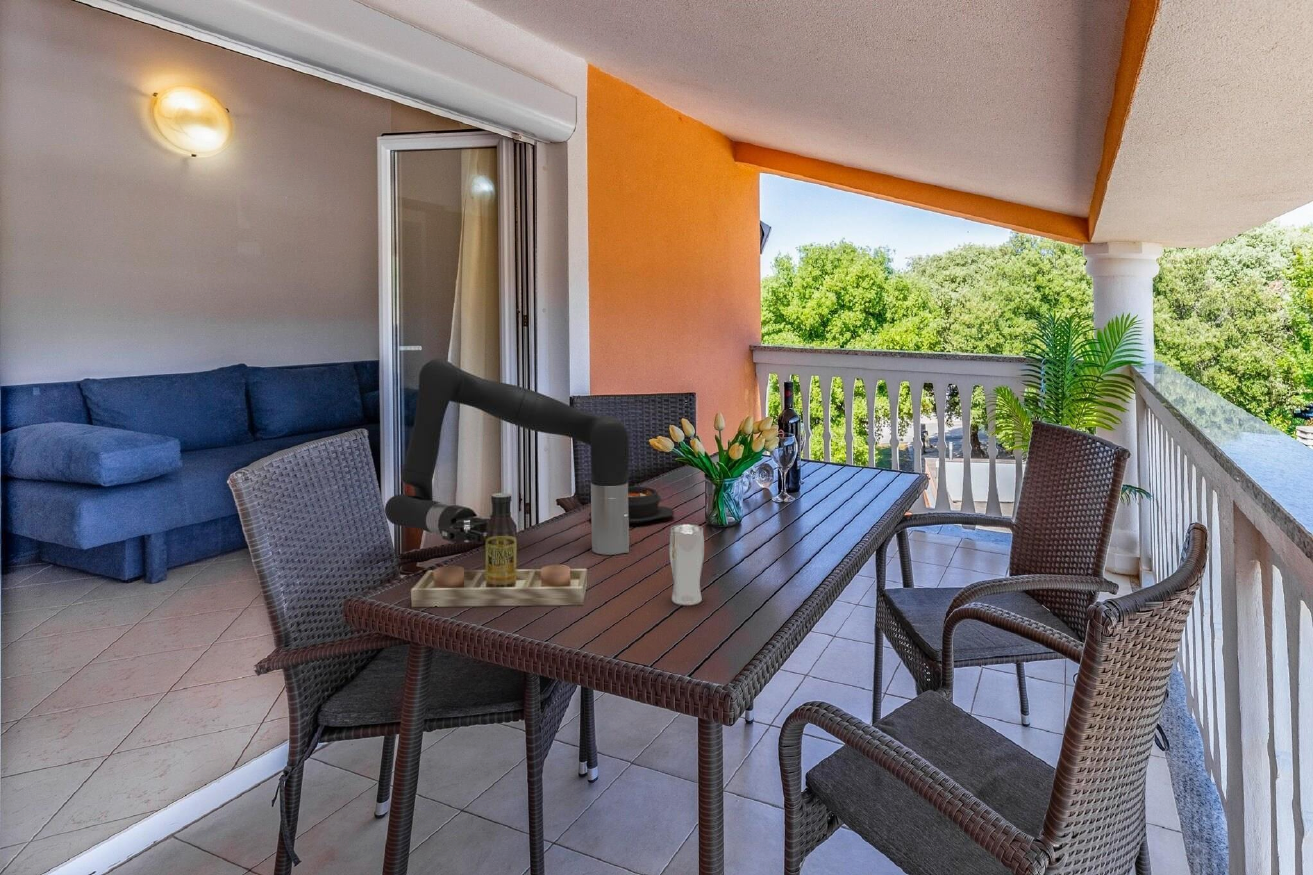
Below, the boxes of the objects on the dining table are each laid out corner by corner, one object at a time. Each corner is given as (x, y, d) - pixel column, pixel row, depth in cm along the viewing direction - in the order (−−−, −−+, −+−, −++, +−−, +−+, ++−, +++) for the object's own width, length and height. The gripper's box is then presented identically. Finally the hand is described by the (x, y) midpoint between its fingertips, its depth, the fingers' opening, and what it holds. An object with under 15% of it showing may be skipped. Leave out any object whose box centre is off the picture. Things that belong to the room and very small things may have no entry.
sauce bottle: (485, 594, 147) (481, 498, 144) (486, 584, 153) (482, 492, 150) (518, 592, 148) (515, 497, 146) (518, 581, 154) (515, 490, 152)
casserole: (666, 509, 223) (666, 483, 222) (681, 525, 205) (681, 496, 204) (585, 514, 218) (585, 486, 217) (593, 530, 200) (592, 500, 199)
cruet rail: (587, 584, 157) (586, 559, 156) (582, 604, 145) (582, 578, 144) (429, 586, 156) (428, 561, 156) (411, 606, 145) (410, 580, 144)
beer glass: (667, 594, 151) (667, 524, 149) (701, 593, 151) (701, 523, 149) (671, 607, 144) (671, 533, 142) (706, 605, 145) (706, 532, 142)
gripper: (422, 511, 153) (470, 523, 143) (477, 499, 164) (525, 509, 154) (424, 545, 154) (471, 560, 144) (478, 531, 165) (526, 543, 155)
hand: (499, 534), depth 149 cm, fingers open, 8 cm apart
